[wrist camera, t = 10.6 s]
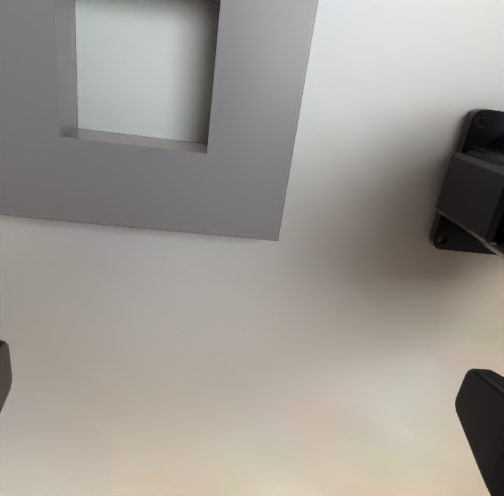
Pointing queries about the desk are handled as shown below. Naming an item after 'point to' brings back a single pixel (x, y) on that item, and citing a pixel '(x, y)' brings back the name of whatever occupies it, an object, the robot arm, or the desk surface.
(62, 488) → the desk surface
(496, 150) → the robot arm
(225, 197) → the frame
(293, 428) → the desk surface
